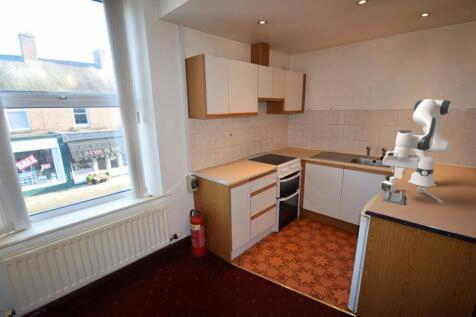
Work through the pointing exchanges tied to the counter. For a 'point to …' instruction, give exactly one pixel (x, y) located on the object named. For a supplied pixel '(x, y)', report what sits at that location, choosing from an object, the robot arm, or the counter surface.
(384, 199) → the rail base
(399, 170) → the din module
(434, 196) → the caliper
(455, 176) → the counter surface
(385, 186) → the medicine bottle
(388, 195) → the din rail
